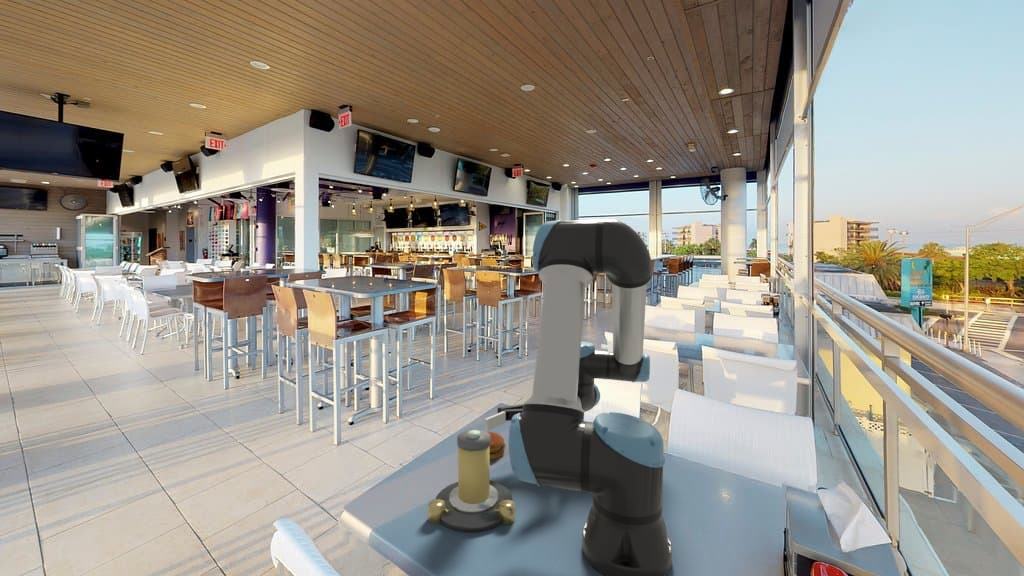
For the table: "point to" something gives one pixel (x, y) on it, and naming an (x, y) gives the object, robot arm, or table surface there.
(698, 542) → the table surface
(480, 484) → the yellow battery cell
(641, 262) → the robot arm
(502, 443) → the burger
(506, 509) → the tribrach
